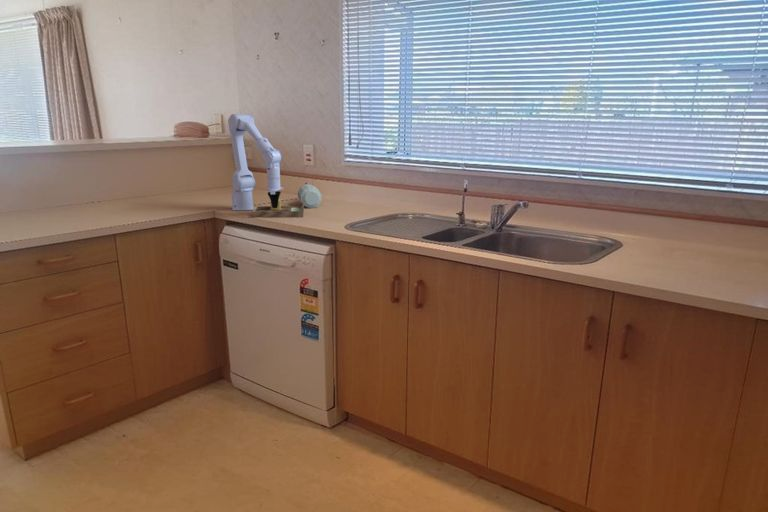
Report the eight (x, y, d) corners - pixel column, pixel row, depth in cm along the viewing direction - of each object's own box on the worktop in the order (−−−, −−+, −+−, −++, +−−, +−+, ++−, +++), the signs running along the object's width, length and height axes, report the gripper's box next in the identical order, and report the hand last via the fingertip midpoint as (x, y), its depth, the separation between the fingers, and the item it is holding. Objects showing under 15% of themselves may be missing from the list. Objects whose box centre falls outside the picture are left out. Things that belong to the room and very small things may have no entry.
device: (322, 208, 263) (321, 187, 261) (301, 209, 261) (300, 187, 258) (312, 198, 292) (312, 179, 290) (293, 199, 290) (293, 180, 287)
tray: (253, 217, 240) (253, 208, 239) (257, 211, 253) (256, 203, 252) (302, 217, 242) (302, 208, 241) (303, 211, 255) (303, 203, 254)
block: (271, 209, 248) (270, 200, 247) (271, 208, 251) (271, 199, 250) (279, 209, 248) (279, 200, 247) (280, 208, 252) (280, 199, 251)
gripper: (281, 180, 236) (282, 210, 240) (283, 175, 250) (284, 204, 254) (265, 180, 235) (266, 210, 239) (268, 175, 249) (269, 205, 253)
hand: (274, 207), depth 246 cm, fingers closed
